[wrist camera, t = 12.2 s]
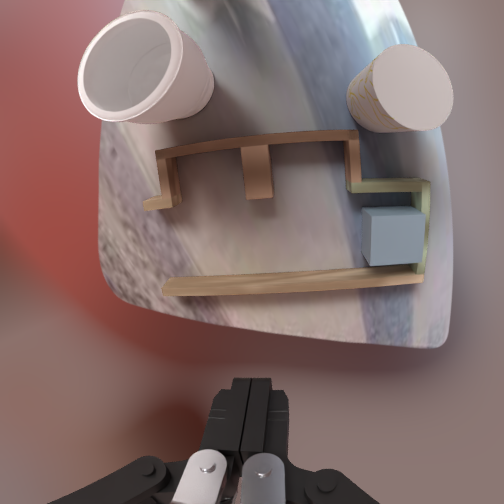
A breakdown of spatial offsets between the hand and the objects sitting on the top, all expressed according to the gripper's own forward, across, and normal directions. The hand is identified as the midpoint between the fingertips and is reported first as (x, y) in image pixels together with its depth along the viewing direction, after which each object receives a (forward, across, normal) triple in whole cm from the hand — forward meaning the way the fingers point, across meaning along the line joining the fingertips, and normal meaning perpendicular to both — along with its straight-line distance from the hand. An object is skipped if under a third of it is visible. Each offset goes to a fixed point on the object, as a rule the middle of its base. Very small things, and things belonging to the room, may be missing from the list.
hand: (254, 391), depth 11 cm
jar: (+29, +10, -18) cm, 35 cm away
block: (+28, -14, +2) cm, 32 cm away
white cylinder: (+28, -14, -14) cm, 34 cm away
